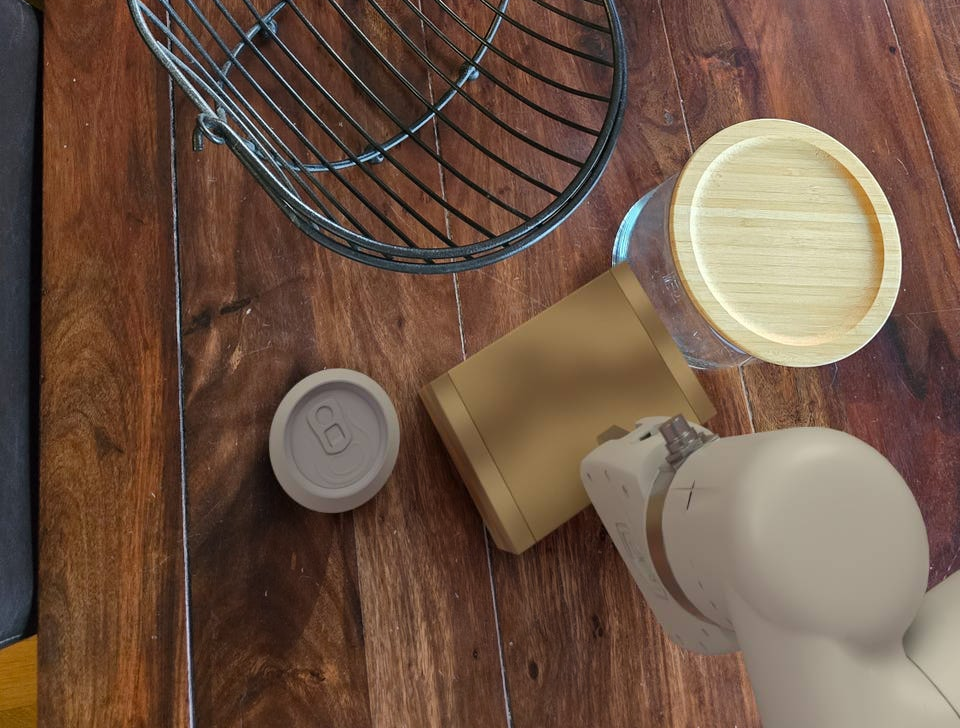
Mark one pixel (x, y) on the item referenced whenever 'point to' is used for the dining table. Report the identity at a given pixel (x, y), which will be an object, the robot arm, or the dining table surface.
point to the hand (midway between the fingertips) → (629, 522)
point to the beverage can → (334, 440)
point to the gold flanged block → (558, 403)
